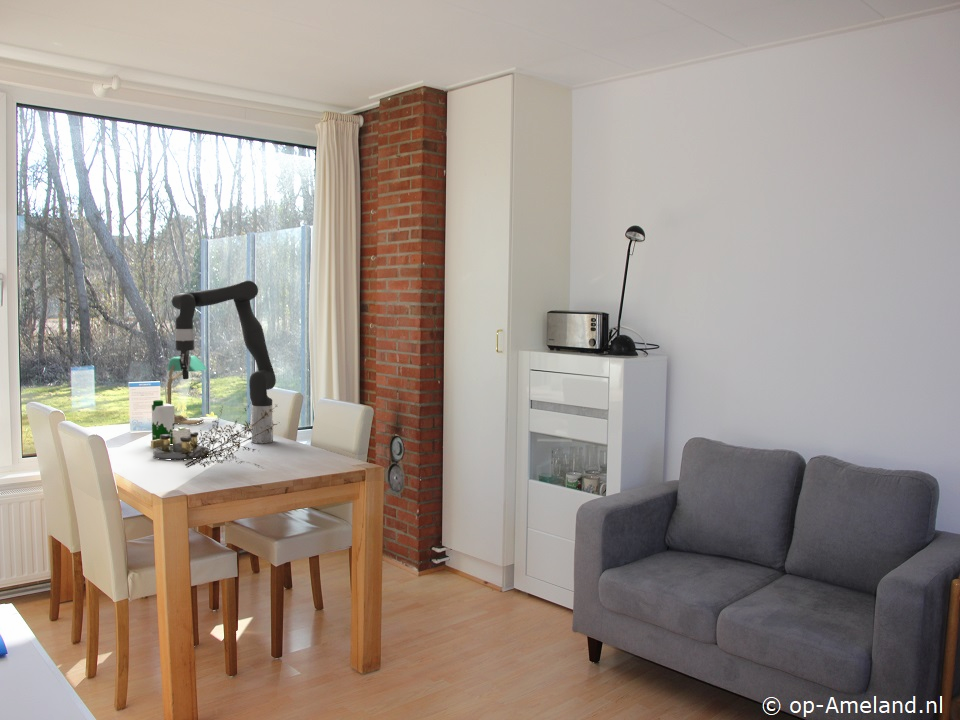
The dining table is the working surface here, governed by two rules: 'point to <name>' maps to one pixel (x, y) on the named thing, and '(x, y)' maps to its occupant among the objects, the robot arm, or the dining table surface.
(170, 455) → the base
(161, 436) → the knob front
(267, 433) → the dried plant
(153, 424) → the milk carton
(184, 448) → the knob left
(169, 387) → the banker's lamp
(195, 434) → the knob near
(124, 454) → the dining table surface
